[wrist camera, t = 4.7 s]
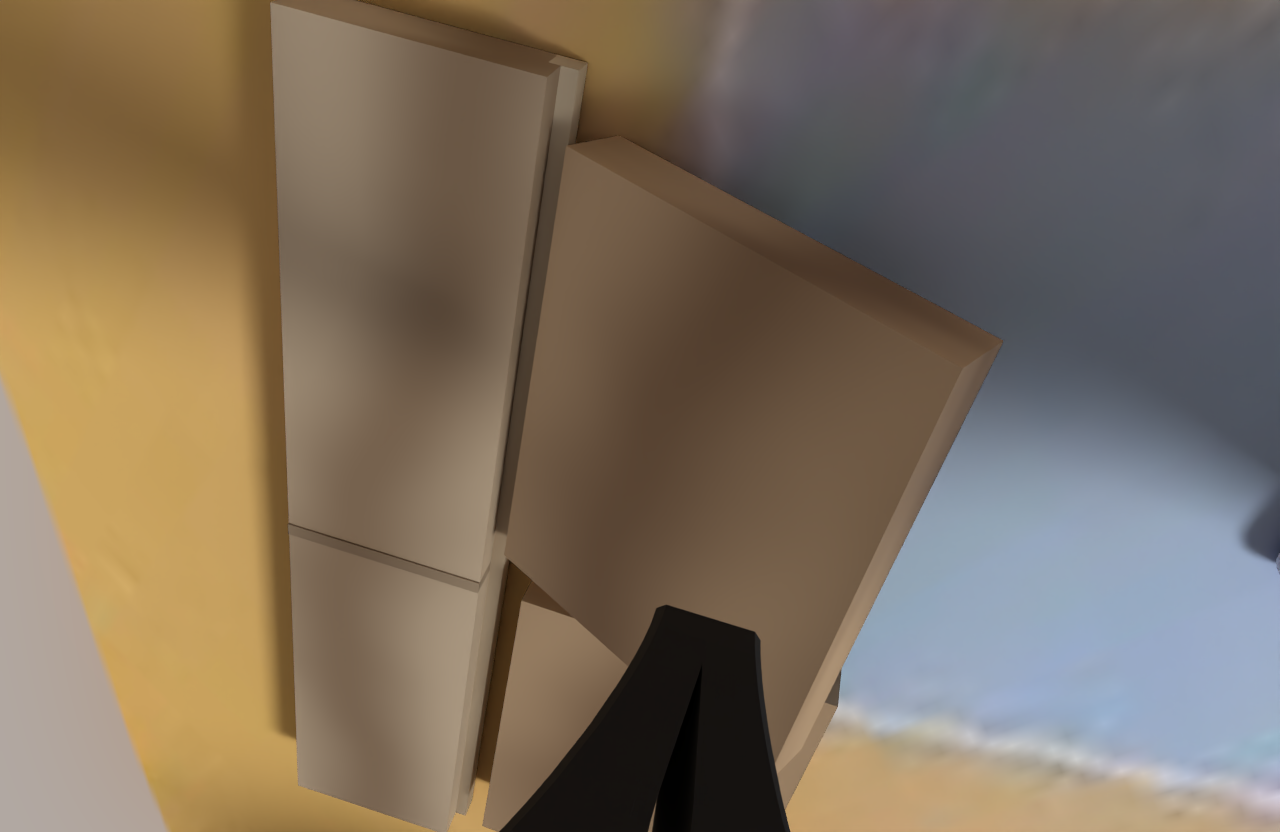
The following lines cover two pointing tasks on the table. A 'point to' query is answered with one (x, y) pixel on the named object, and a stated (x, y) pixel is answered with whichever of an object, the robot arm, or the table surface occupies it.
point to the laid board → (406, 377)
